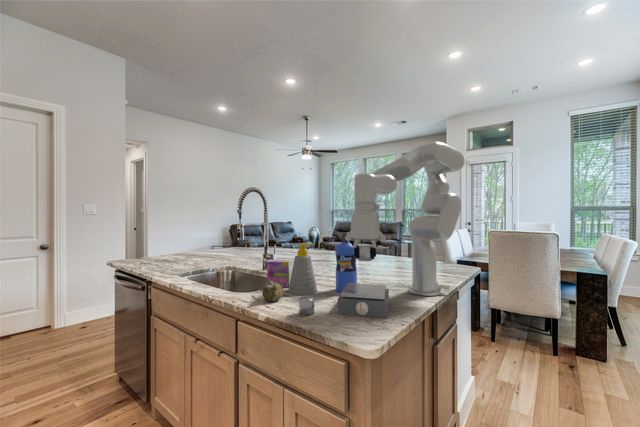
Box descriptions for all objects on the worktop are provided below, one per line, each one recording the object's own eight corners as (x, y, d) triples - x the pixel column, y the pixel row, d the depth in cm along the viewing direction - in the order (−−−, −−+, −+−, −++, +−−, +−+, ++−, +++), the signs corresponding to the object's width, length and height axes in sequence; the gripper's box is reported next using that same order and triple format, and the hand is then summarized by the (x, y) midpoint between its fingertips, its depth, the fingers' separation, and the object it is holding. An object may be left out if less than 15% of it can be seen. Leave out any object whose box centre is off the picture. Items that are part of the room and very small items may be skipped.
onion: (286, 301, 109) (286, 280, 109) (266, 304, 105) (266, 282, 105) (279, 296, 115) (279, 276, 115) (260, 299, 112) (259, 278, 112)
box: (267, 287, 130) (266, 261, 130) (271, 284, 136) (271, 259, 136) (289, 288, 128) (288, 261, 128) (292, 284, 134) (292, 259, 134)
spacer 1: (316, 311, 97) (316, 297, 97) (312, 317, 92) (311, 301, 92) (302, 310, 98) (302, 296, 98) (297, 315, 93) (297, 300, 93)
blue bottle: (356, 294, 117) (355, 233, 117) (333, 292, 120) (333, 232, 120) (358, 288, 127) (358, 231, 127) (337, 287, 129) (337, 231, 129)
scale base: (388, 302, 106) (388, 289, 106) (387, 318, 90) (387, 302, 90) (345, 299, 110) (345, 286, 110) (337, 314, 94) (337, 299, 94)
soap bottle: (313, 296, 116) (313, 245, 116) (284, 294, 118) (283, 244, 118) (320, 288, 128) (319, 242, 128) (293, 286, 130) (292, 241, 130)
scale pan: (385, 288, 105) (385, 285, 105) (384, 299, 92) (384, 295, 92) (348, 286, 109) (348, 282, 109) (341, 296, 95) (341, 292, 95)
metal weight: (372, 259, 105) (372, 245, 105) (371, 261, 100) (371, 247, 101) (359, 258, 107) (359, 245, 107) (357, 260, 102) (357, 246, 102)
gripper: (389, 208, 105) (389, 258, 105) (343, 208, 109) (343, 256, 109) (389, 207, 98) (389, 261, 98) (339, 208, 102) (339, 259, 102)
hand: (365, 258), depth 104 cm, fingers closed on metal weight, 5 cm apart
